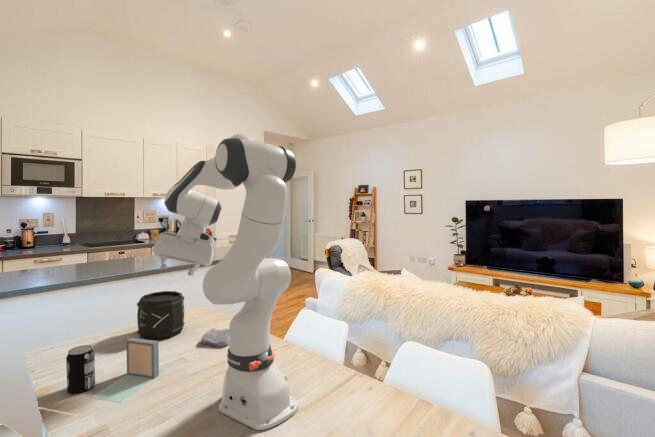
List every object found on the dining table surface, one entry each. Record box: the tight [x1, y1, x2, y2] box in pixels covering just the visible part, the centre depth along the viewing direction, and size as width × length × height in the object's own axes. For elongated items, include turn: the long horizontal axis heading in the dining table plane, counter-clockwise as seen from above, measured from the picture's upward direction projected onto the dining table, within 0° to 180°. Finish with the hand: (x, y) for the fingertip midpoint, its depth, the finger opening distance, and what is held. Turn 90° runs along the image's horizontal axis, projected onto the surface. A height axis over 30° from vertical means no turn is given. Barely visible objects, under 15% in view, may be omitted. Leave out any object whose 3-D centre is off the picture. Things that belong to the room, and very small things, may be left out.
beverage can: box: [65, 344, 96, 395], centre depth 96 cm, size 7×7×12 cm
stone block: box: [201, 328, 229, 348], centre depth 130 cm, size 12×5×10 cm
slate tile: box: [125, 337, 160, 380], centre depth 103 cm, size 2×10×11 cm, turn 77°
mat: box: [90, 368, 167, 403], centre depth 99 cm, size 10×18×1 cm, turn 167°
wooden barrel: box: [136, 290, 186, 341], centre depth 137 cm, size 18×18×16 cm
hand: (176, 272), depth 113 cm, fingers open, 8 cm apart
